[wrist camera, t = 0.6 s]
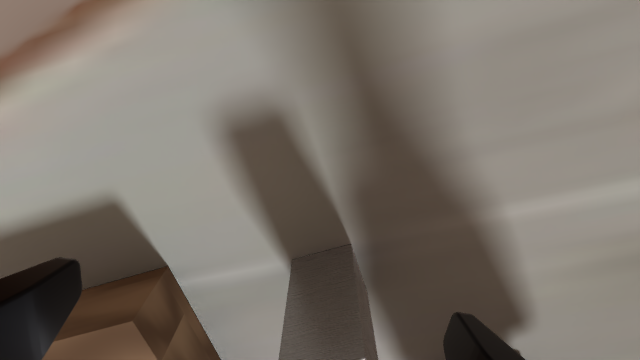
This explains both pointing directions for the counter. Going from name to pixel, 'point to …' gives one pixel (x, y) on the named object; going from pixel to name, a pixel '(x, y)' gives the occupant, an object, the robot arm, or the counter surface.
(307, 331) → the steel block
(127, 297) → the socket block
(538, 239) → the counter surface
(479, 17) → the counter surface
